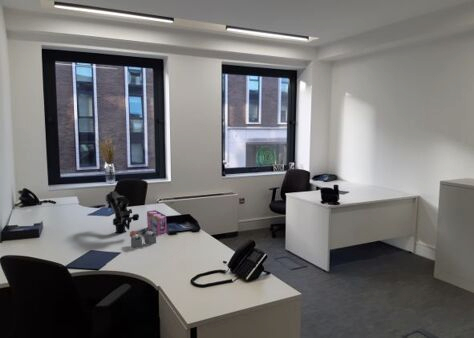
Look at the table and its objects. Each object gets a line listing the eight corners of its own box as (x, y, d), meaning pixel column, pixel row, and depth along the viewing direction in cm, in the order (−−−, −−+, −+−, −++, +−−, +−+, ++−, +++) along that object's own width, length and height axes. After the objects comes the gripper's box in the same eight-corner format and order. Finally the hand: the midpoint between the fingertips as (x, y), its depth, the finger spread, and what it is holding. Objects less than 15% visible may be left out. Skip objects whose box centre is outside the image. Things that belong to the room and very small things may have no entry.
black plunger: (141, 235, 263) (141, 229, 263) (147, 234, 267) (147, 227, 266) (149, 238, 258) (148, 231, 257) (154, 236, 261) (154, 229, 261)
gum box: (167, 233, 285) (167, 216, 283) (158, 234, 280) (157, 217, 279) (156, 225, 305) (155, 210, 303) (147, 227, 300) (146, 211, 298)
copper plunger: (129, 238, 258) (129, 231, 257) (136, 236, 261) (136, 230, 260) (133, 241, 250) (133, 234, 250) (141, 240, 253) (140, 233, 253)
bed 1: (131, 246, 255) (130, 235, 254) (139, 244, 258) (139, 234, 257) (133, 248, 250) (133, 237, 249) (142, 246, 254) (141, 236, 253)
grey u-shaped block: (144, 243, 261) (144, 233, 260) (151, 241, 265) (151, 231, 264) (149, 244, 257) (148, 234, 256) (156, 242, 262) (155, 232, 261)
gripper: (111, 208, 265) (116, 227, 259) (137, 203, 275) (142, 221, 268) (110, 215, 274) (115, 234, 267) (135, 210, 283) (140, 228, 276)
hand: (128, 229), depth 269 cm, fingers closed
